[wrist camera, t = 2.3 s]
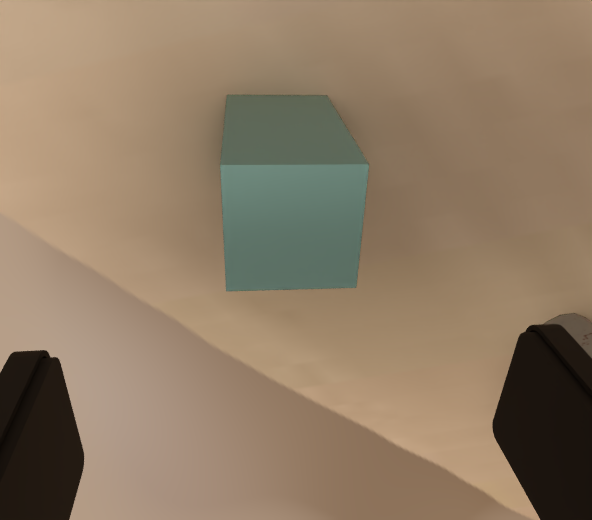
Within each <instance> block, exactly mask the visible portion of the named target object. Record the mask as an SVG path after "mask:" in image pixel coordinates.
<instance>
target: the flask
mask: <svg viewBox="0 0 592 520" xmlns="http://www.w3.org/2000/svg"><path fill="white" fill-rule="evenodd" d="M544 324H559V325H561V326H562V327H564V328H565V329H566V330H567V332H568V333H569V334H570V335H571V336H572V337H573V338H574V339H575V340H576V341H577V343H578V344H579V345H580V346H581V347H582V348H583V349H584V350H585V351H586V352H587V354H588V355H589V356H590V357H591V358H592V322H590V321H589V320H588V319H587V318H585V317H583V316H580V315H577V314H575V313H574V314H564V315H560V316H558V317H555V318H553V319H551V320H549V321H547V322H546V323H544Z"/></svg>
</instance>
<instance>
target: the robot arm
mask: <svg viewBox="0 0 592 520" xmlns="http://www.w3.org/2000/svg"><path fill="white" fill-rule="evenodd" d="M493 433H494V437H495V439H496V441H497V443H498V444H499V446H500V448H501V450H502V452H503V453H504V455H505V457H506V459H507V460H508V462H509V464H510V466H511V468H512V469H513V471H514V473H515V475H516V477H517V478H518V480H519V482H520V484H521V486H522V487H523V489H524V491H525V493H526V495H527V496H528V498H529V500H530V502H531V503H532V505H533V507H534V509H535V511H536V512H537V514H538V516H539V518H540V520H592V358H591V357H590V356H589V355H588V354H587V352H586V351H585V350H584V349H583V348H582V347H581V346H580V345H579V344H578V343H577V341H576V340H575V339H574V338H573V337H572V336H571V335H570V334H569V333H568V332H567V330H566V329H565V328H564V327H562V326H561V325H559V324H543V325H531V326H529V327H528V328H527V330H526V332H524V333H521V334H520V336H519V338H518V341H517V344H516V348H515V351H514V354H513V357H512V361H511V364H510V367H509V370H508V374H507V377H506V380H505V383H504V387H503V390H502V393H501V396H500V400H499V403H498V406H497V409H496V413H495V416H494V419H493ZM83 466H84V452H83V448H82V444H81V440H80V436H79V432H78V429H77V425H76V421H75V417H74V413H73V409H72V406H71V402H70V398H69V394H68V390H67V387H66V383H65V379H64V376H63V371H62V368H61V364H60V361H59V359H58V358H56V357H53V358H50V356H49V353H48V352H47V351H45V350H40V351H23V352H22V351H21V352H13V353H12V354H11V355H10V356H9V358H8V360H7V362H6V363H5V365H4V367H3V369H2V371H1V373H0V520H69V518H70V515H71V511H72V508H73V504H74V500H75V497H76V493H77V489H78V486H79V483H80V479H81V475H82V471H83Z"/></svg>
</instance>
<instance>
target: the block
mask: <svg viewBox="0 0 592 520" xmlns="http://www.w3.org/2000/svg"><path fill="white" fill-rule="evenodd" d="M368 170H369V163H368V162H367V160H366V159H365V157H364V155H363V154H362V152H361V150H360V149H359V147H358V145H357V144H356V142H355V141H354V139H353V137H352V136H351V134H350V132H349V131H348V129H347V128H346V126H345V124H344V123H343V121H342V119H341V118H340V116H339V114H338V113H337V111H336V110H335V108H334V106H333V105H332V103H331V101H330V100H329V98H328V97H327V96H319V95H227V100H226V110H225V120H224V131H223V141H222V152H221V162H220V172H221V193H222V214H223V234H224V255H225V276H226V291H256V290H292V289H328V288H356V286H357V276H358V266H359V257H360V247H361V238H362V228H363V218H364V209H365V199H366V189H367V180H368Z"/></svg>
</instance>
